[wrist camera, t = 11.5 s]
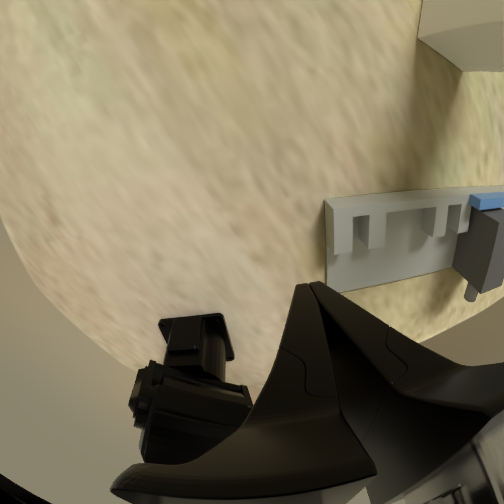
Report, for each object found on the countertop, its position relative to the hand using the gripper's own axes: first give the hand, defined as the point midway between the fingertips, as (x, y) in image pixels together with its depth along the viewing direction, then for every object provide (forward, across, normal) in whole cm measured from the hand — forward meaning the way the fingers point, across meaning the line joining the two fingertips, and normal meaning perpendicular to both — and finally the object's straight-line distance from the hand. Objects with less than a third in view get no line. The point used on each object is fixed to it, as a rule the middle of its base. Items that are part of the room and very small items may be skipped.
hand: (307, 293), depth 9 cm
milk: (+13, -18, -15) cm, 27 cm away
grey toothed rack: (+13, -16, +5) cm, 22 cm away
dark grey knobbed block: (+13, -22, +7) cm, 26 cm away
